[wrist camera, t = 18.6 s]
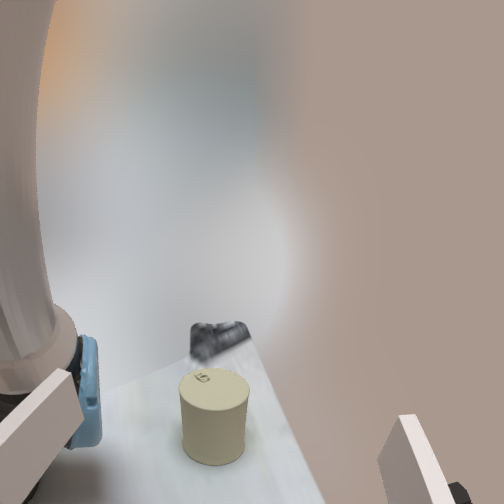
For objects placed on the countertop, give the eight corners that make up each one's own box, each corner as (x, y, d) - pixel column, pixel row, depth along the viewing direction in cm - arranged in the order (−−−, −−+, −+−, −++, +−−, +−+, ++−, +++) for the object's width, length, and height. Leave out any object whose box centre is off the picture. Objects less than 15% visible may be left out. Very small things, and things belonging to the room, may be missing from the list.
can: (217, 416, 46) (218, 358, 43) (257, 446, 40) (265, 387, 37) (170, 438, 39) (164, 378, 37) (209, 475, 33) (208, 417, 31)
